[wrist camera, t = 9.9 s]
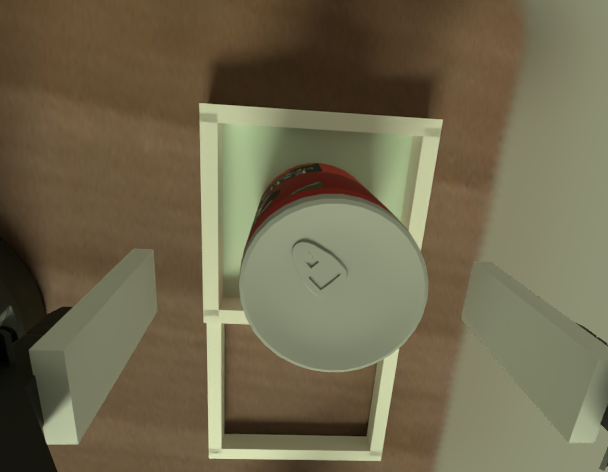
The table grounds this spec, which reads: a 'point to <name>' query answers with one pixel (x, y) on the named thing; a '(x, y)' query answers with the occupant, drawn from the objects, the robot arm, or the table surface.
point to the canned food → (330, 272)
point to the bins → (240, 215)
